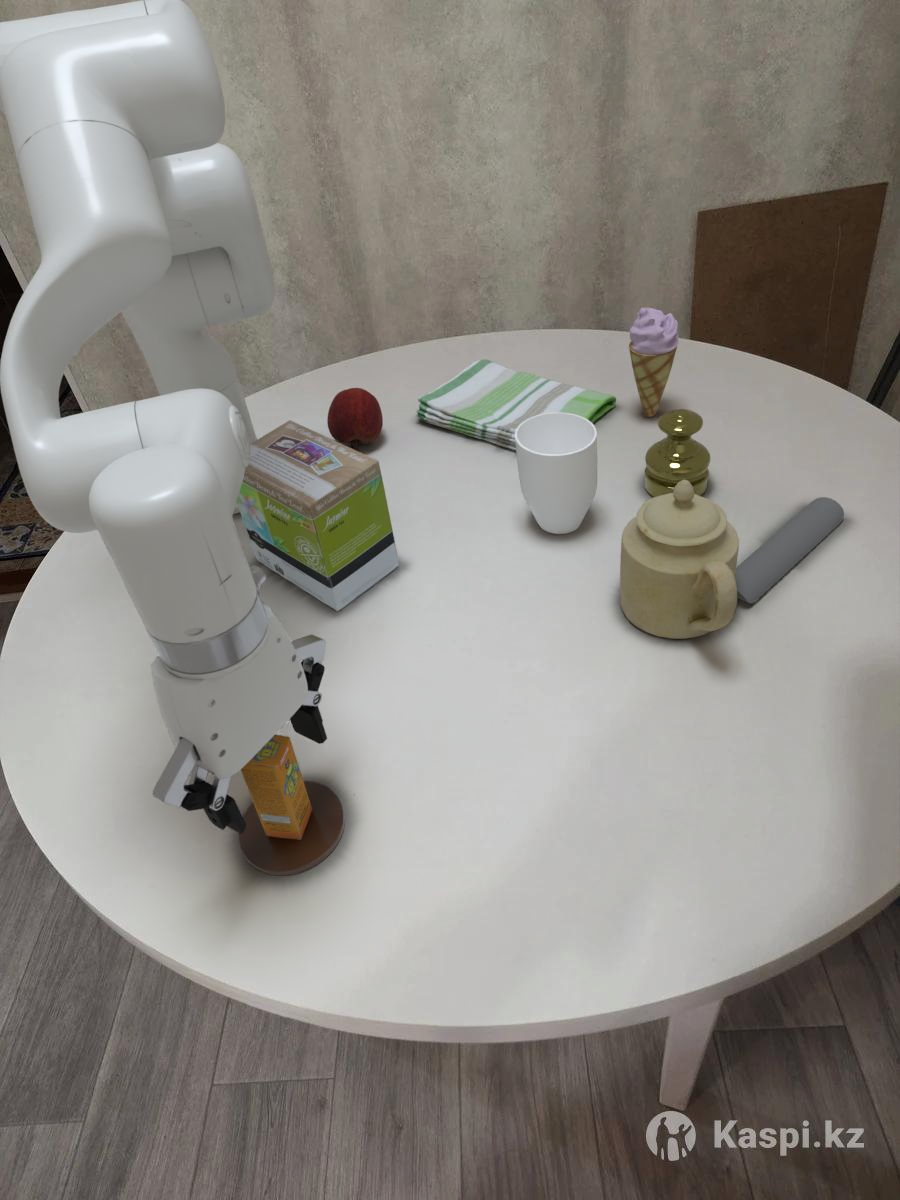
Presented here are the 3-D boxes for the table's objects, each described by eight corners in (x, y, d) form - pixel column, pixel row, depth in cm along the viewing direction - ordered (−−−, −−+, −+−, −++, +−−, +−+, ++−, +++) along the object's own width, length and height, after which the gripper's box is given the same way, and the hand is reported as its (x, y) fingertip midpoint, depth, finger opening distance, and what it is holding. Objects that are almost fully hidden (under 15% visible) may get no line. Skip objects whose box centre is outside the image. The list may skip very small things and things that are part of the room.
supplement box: (304, 842, 72) (274, 768, 65) (266, 837, 72) (232, 764, 66) (317, 808, 74) (289, 734, 67) (279, 804, 75) (248, 730, 68)
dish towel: (484, 370, 131) (482, 348, 129) (618, 403, 119) (619, 380, 117) (413, 423, 122) (409, 400, 120) (551, 465, 110) (550, 441, 108)
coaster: (218, 845, 73) (216, 841, 73) (288, 769, 78) (286, 765, 78) (297, 894, 69) (296, 890, 68) (366, 810, 74) (364, 806, 74)
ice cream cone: (621, 404, 119) (623, 298, 109) (666, 398, 119) (672, 291, 109) (633, 429, 114) (636, 320, 104) (679, 422, 114) (687, 313, 104)
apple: (398, 434, 120) (388, 382, 115) (364, 463, 115) (353, 410, 110) (356, 424, 123) (345, 373, 118) (322, 451, 119) (309, 399, 114)
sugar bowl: (786, 619, 85) (812, 494, 75) (714, 678, 80) (733, 552, 71) (666, 554, 94) (676, 435, 85) (596, 603, 90) (598, 483, 80)
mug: (583, 550, 97) (581, 459, 89) (509, 537, 100) (502, 448, 92) (614, 492, 104) (615, 403, 96) (544, 481, 108) (540, 394, 100)
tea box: (254, 564, 102) (217, 457, 92) (318, 521, 107) (290, 415, 97) (337, 615, 93) (307, 503, 83) (403, 566, 98) (382, 455, 88)
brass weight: (638, 500, 103) (641, 426, 96) (650, 465, 107) (654, 393, 101) (702, 508, 100) (709, 433, 93) (711, 472, 105) (719, 398, 98)
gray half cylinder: (846, 518, 96) (849, 505, 94) (747, 609, 86) (749, 596, 85) (810, 504, 98) (813, 491, 97) (710, 591, 89) (712, 578, 88)
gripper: (255, 536, 65) (306, 689, 76) (70, 690, 55) (161, 840, 66) (332, 564, 61) (374, 720, 72) (149, 735, 51) (231, 885, 62)
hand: (272, 777), depth 69 cm, fingers open, 9 cm apart
